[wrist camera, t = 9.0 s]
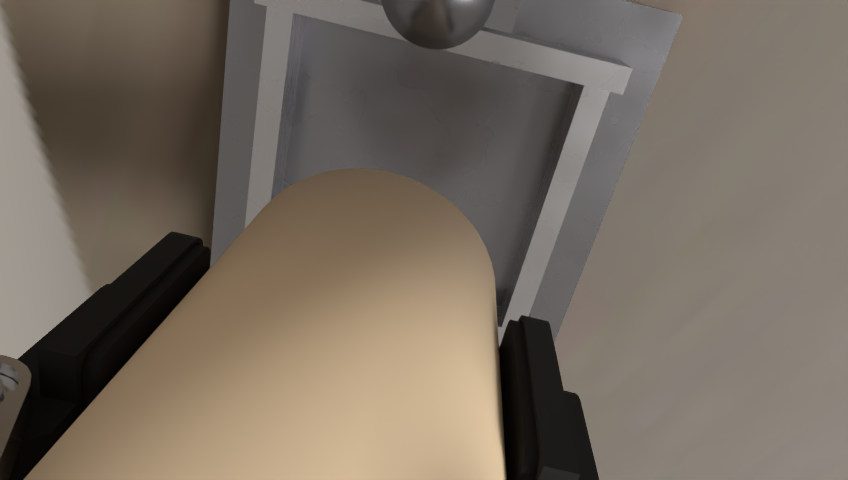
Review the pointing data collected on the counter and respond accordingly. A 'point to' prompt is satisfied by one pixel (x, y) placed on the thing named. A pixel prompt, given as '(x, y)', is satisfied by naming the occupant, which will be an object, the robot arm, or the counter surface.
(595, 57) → the stand
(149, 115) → the counter surface
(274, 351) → the paper roll
